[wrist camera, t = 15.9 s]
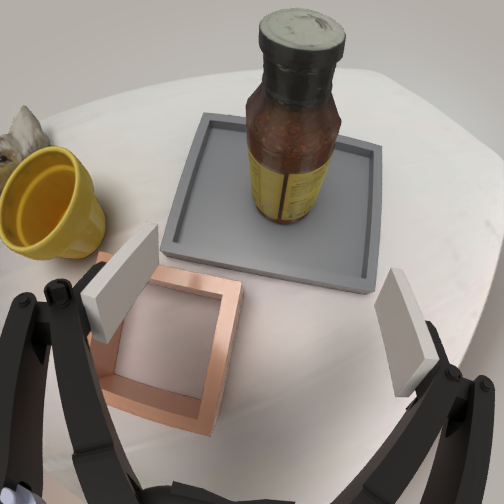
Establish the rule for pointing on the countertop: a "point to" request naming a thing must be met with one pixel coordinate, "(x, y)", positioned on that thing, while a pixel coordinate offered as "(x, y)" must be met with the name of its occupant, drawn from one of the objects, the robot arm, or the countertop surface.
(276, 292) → the countertop surface
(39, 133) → the ceramic sculpture
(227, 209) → the grey tray
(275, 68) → the sauce bottle
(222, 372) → the terracotta holder
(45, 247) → the plant pot
